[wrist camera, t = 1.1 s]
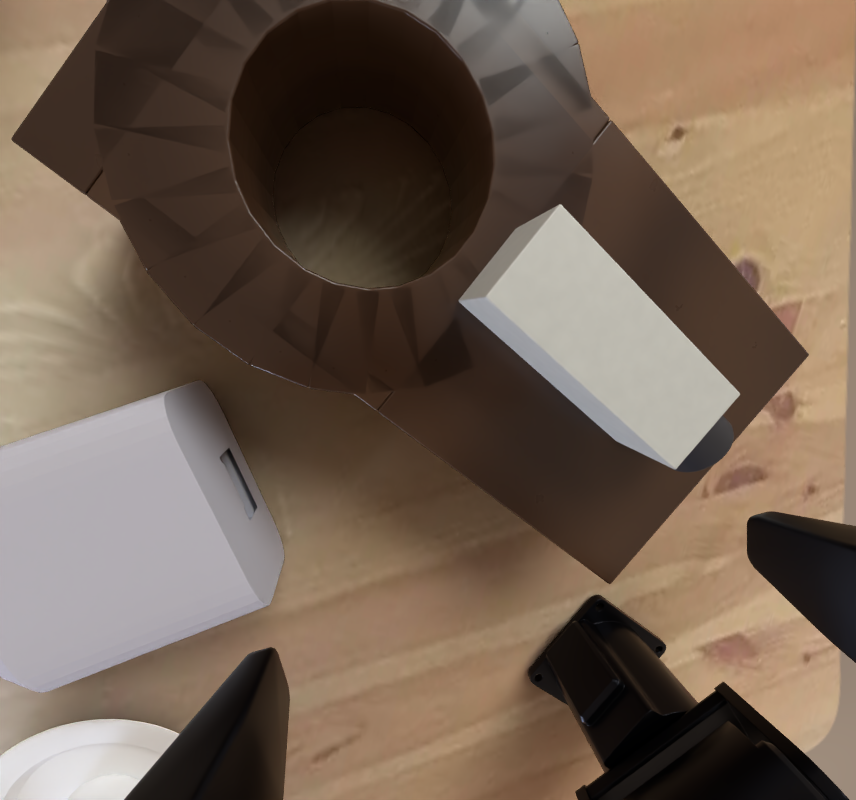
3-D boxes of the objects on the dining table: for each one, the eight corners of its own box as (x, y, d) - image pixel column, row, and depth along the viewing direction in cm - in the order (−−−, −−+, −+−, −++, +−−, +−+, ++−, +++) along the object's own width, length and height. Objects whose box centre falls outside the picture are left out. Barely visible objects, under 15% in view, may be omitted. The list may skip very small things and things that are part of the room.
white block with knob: (691, 401, 16) (768, 421, 13) (639, 462, 16) (703, 495, 13) (516, 227, 13) (560, 202, 10) (457, 300, 13) (484, 297, 10)
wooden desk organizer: (705, 326, 22) (831, 330, 16) (531, 532, 22) (591, 607, 17) (330, -82, 16) (314, -316, 10) (110, 221, 16) (-26, 170, 11)
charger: (-152, 496, 17) (207, 376, 18) (-23, 667, 19) (288, 549, 20) (-342, 564, 12) (156, 397, 14) (-144, 778, 14) (267, 617, 16)
